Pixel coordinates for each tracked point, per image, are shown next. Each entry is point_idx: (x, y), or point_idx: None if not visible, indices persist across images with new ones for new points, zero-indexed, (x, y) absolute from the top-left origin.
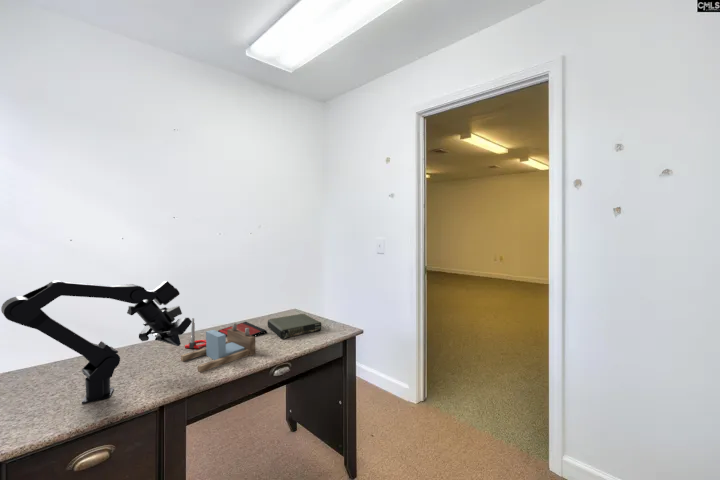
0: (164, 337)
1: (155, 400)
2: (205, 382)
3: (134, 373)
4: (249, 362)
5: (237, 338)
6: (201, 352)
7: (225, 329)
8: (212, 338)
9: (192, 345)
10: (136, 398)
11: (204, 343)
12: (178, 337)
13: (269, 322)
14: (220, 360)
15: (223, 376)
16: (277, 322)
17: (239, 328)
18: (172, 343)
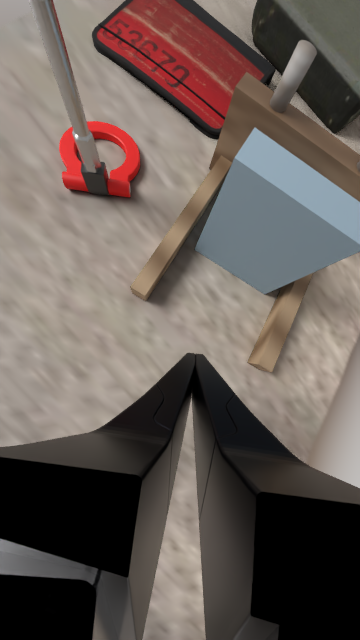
0: (152, 573)
1: None
2: (315, 424)
3: (25, 424)
4: (344, 287)
5: None
6: (180, 244)
7: (118, 31)
8: (288, 227)
9: (100, 184)
10: (192, 582)
11: (127, 158)
12: (230, 394)
13: (279, 10)
14: (296, 310)
15: (335, 379)
16: (316, 19)
17: (173, 34)
18: (186, 420)
